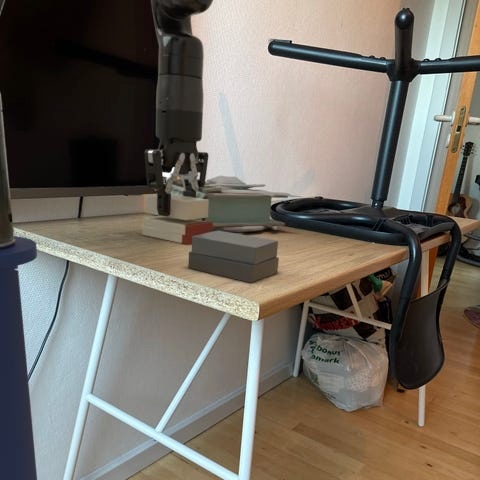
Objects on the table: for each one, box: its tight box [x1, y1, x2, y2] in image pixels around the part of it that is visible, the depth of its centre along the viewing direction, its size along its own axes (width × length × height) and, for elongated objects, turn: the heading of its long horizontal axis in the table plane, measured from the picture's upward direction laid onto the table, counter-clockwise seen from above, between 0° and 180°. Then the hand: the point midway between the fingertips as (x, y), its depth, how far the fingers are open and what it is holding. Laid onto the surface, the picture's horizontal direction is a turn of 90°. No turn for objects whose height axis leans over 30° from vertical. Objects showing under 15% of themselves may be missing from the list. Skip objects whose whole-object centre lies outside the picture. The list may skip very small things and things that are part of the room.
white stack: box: [141, 215, 214, 245], centre depth 85 cm, size 7×10×3 cm
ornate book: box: [152, 175, 302, 233], centre depth 102 cm, size 23×10×30 cm
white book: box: [145, 194, 209, 220], centre depth 84 cm, size 6×9×3 cm, turn 57°
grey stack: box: [187, 231, 280, 284], centre depth 65 cm, size 7×10×4 cm
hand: (176, 213), depth 84 cm, fingers closed on white book, 6 cm apart
